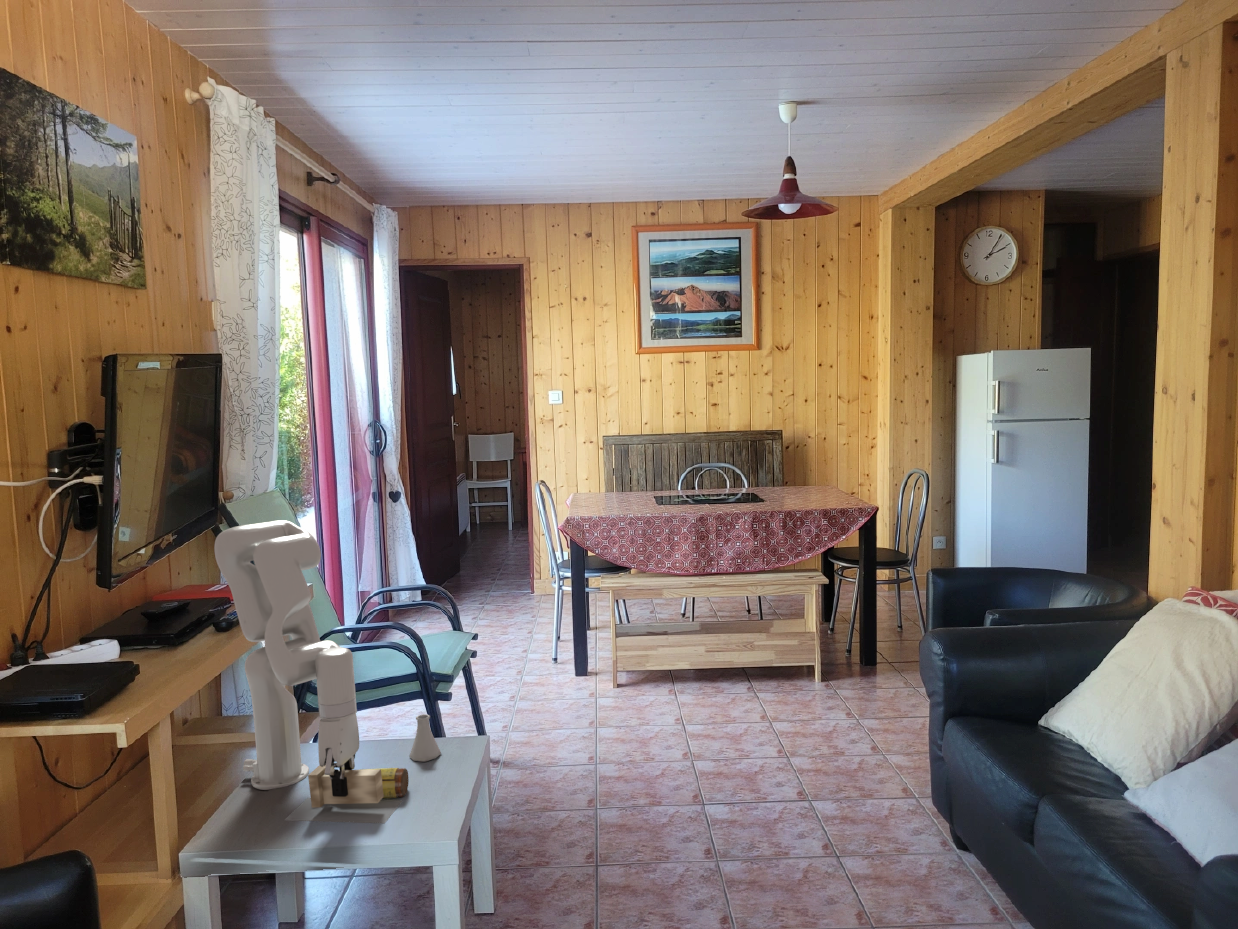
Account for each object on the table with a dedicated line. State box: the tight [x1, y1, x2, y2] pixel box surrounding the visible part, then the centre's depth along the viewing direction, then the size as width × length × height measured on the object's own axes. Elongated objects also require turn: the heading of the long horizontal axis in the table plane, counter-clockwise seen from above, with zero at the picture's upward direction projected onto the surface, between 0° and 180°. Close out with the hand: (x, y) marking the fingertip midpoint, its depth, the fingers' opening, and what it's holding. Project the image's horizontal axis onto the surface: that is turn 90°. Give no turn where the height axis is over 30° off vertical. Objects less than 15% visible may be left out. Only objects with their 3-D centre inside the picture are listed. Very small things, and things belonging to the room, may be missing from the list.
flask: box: [408, 713, 442, 763], centre depth 212 cm, size 7×7×10 cm
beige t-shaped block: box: [307, 764, 384, 807], centre depth 184 cm, size 14×6×7 cm, turn 82°
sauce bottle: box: [358, 767, 409, 799], centre depth 192 cm, size 7×6×20 cm
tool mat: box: [284, 797, 404, 824], centre depth 185 cm, size 22×10×1 cm, turn 82°
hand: (344, 791), depth 184 cm, fingers closed on beige t-shaped block, 2 cm apart
